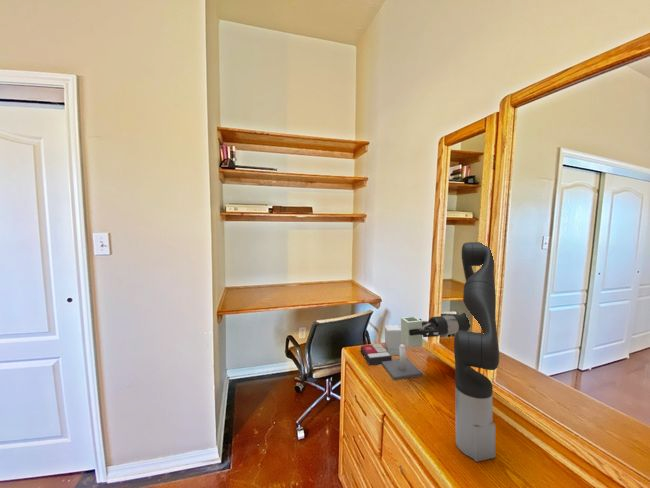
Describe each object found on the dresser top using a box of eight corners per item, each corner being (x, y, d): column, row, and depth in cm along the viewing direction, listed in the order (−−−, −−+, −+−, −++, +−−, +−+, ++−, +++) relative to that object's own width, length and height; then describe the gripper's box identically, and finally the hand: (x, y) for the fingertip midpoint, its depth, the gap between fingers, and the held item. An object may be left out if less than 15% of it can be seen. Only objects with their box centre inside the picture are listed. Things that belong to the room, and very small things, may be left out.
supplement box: (402, 355, 132) (402, 330, 131) (387, 355, 133) (386, 330, 132) (399, 348, 139) (398, 324, 139) (384, 348, 140) (384, 325, 139)
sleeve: (422, 345, 106) (421, 321, 106) (408, 347, 105) (407, 322, 105) (414, 339, 112) (414, 316, 112) (401, 341, 111) (400, 317, 111)
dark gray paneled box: (380, 342, 140) (391, 354, 125) (381, 350, 140) (392, 363, 125) (360, 344, 138) (369, 356, 123) (360, 353, 138) (369, 366, 123)
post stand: (422, 375, 113) (422, 347, 113) (393, 380, 111) (393, 351, 110) (406, 360, 127) (406, 334, 126) (381, 363, 125) (380, 337, 124)
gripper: (433, 311, 118) (397, 314, 115) (454, 322, 104) (414, 326, 101) (433, 327, 118) (398, 331, 115) (454, 341, 104) (414, 346, 101)
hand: (405, 329), depth 108 cm, fingers closed on sleeve, 6 cm apart
